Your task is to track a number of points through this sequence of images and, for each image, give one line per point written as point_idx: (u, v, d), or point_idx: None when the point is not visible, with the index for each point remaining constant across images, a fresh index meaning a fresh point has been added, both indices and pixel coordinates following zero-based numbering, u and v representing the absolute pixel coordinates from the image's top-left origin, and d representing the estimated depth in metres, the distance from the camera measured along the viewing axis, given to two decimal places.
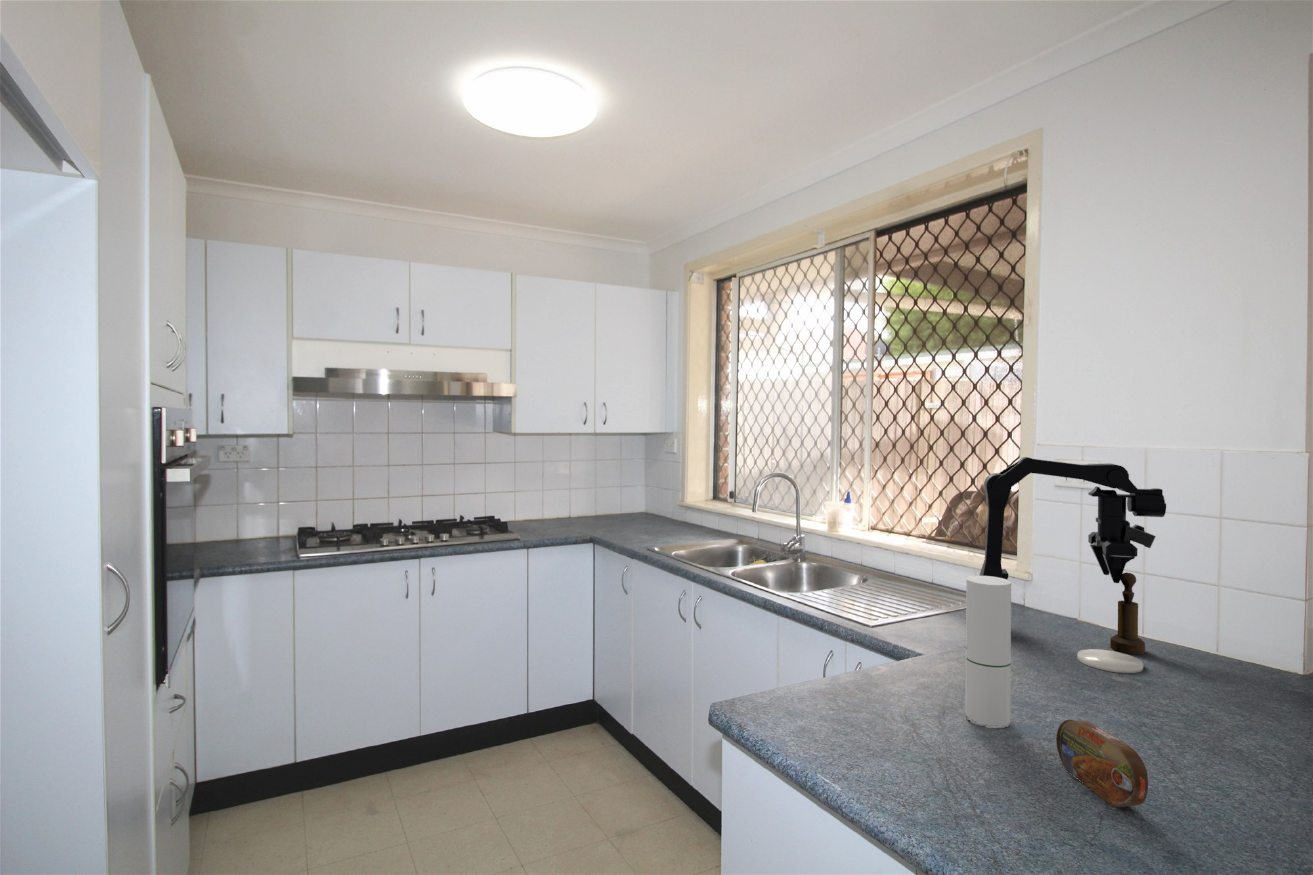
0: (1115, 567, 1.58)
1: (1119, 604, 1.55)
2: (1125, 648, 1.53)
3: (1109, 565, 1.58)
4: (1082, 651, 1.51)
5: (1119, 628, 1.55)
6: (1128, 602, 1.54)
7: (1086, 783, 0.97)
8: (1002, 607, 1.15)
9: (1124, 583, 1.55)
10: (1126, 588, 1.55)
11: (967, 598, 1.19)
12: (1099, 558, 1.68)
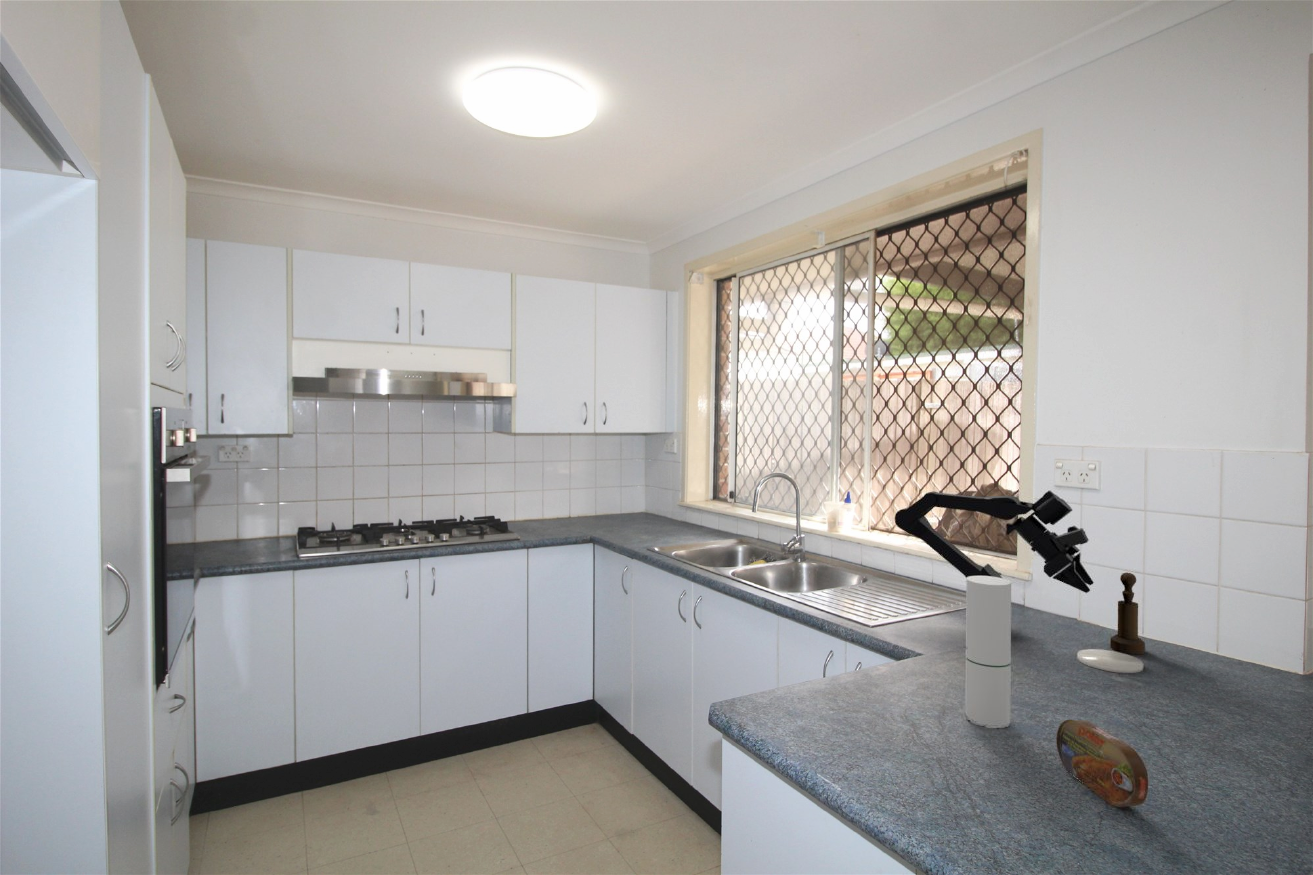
0: (1072, 580, 1.57)
1: (1119, 604, 1.55)
2: (1125, 648, 1.53)
3: (1066, 582, 1.57)
4: (1082, 651, 1.51)
5: (1119, 628, 1.55)
6: (1128, 602, 1.54)
7: (1086, 783, 0.97)
8: (1002, 607, 1.15)
9: (1124, 583, 1.55)
10: (1126, 588, 1.55)
11: (967, 598, 1.19)
12: None
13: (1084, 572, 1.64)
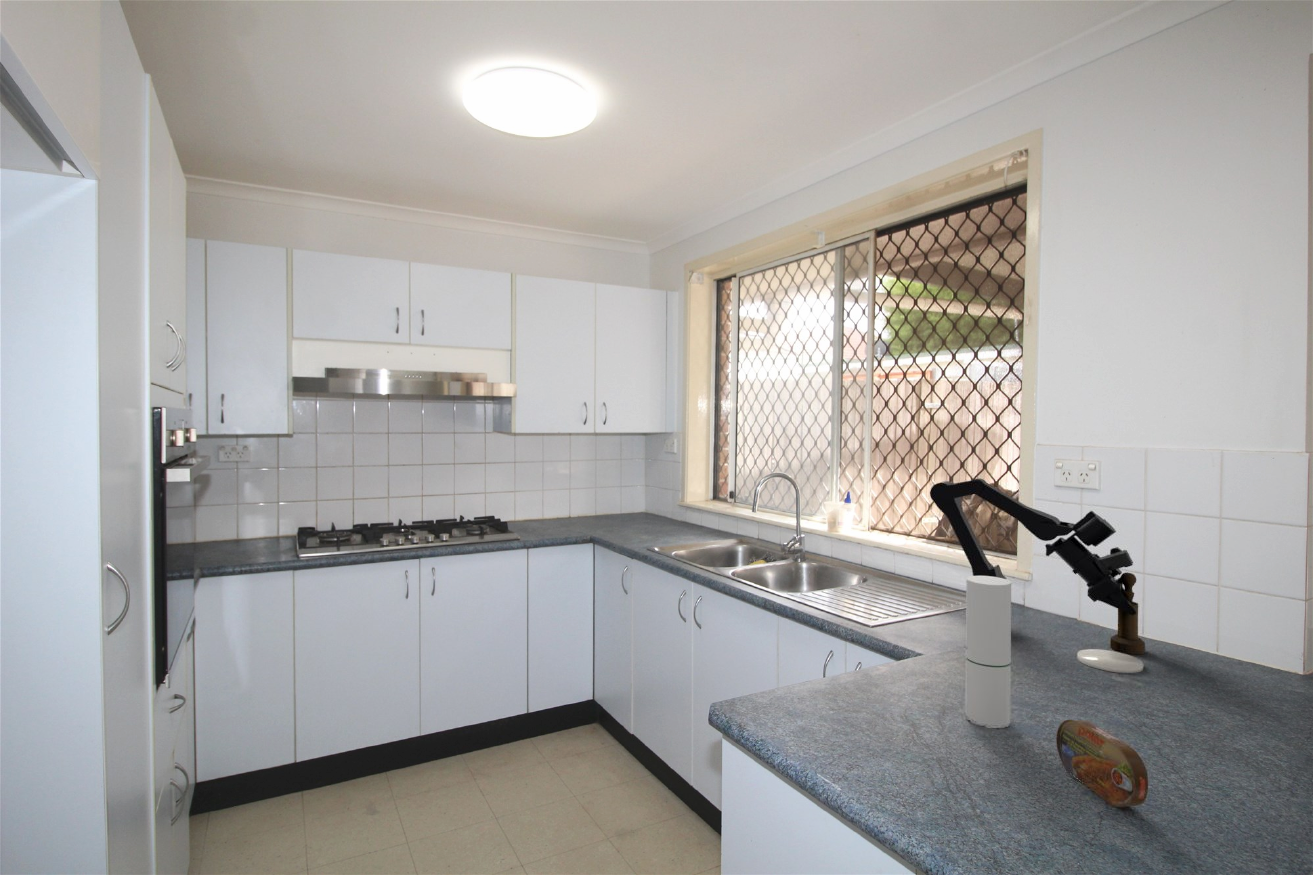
0: (1118, 602, 1.53)
1: None
2: (1125, 648, 1.53)
3: (1111, 604, 1.54)
4: (1082, 651, 1.51)
5: (1119, 628, 1.55)
6: None
7: (1086, 783, 0.97)
8: (1002, 607, 1.15)
9: (1124, 583, 1.54)
10: (1126, 588, 1.55)
11: (967, 598, 1.19)
12: None
13: None
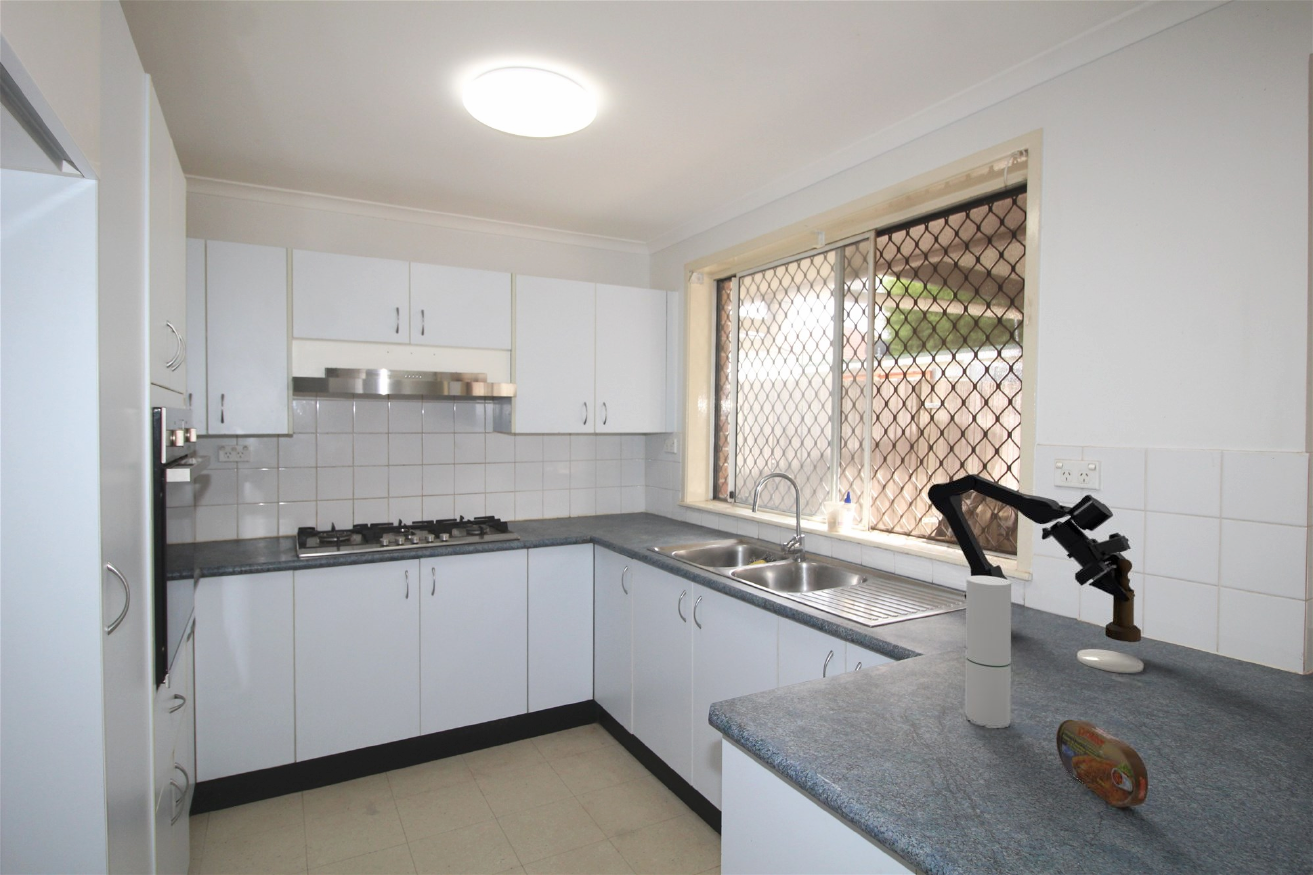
0: (1110, 588, 1.50)
1: None
2: (1117, 636, 1.49)
3: (1103, 589, 1.51)
4: (1082, 651, 1.51)
5: (1113, 615, 1.51)
6: (1123, 589, 1.50)
7: (1086, 783, 0.97)
8: (1002, 607, 1.15)
9: (1119, 569, 1.50)
10: (1121, 574, 1.50)
11: (967, 598, 1.19)
12: None
13: None
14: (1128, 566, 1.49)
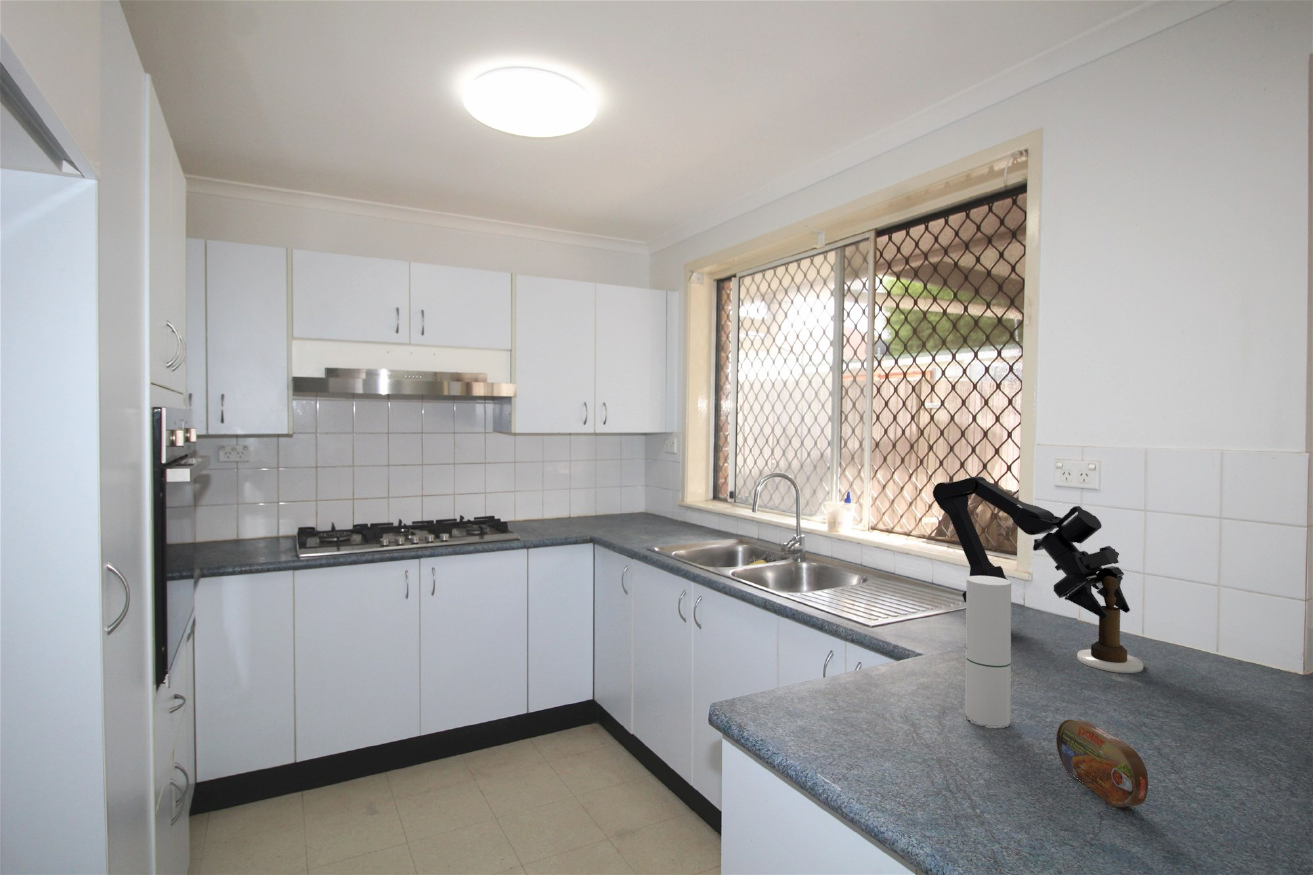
0: (1087, 603, 1.45)
1: None
2: (1099, 655, 1.46)
3: (1080, 605, 1.46)
4: (1082, 651, 1.51)
5: None
6: (1108, 607, 1.46)
7: (1086, 783, 0.97)
8: (1002, 607, 1.15)
9: (1104, 587, 1.47)
10: (1106, 592, 1.47)
11: (967, 598, 1.19)
12: None
13: (1120, 598, 1.49)
14: (1112, 584, 1.45)
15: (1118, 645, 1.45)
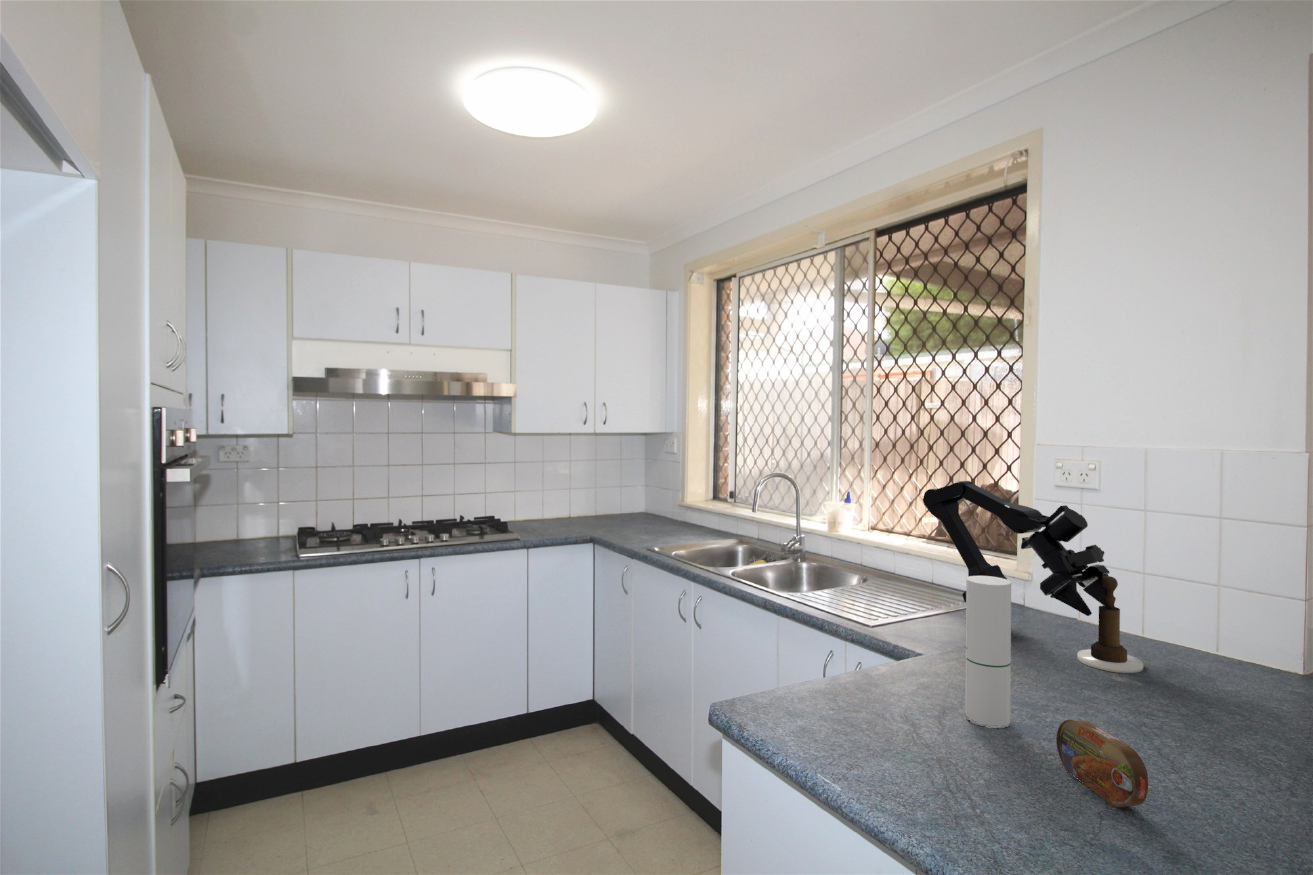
0: (1072, 601, 1.48)
1: None
2: (1099, 655, 1.46)
3: (1066, 602, 1.49)
4: (1082, 651, 1.51)
5: None
6: (1108, 607, 1.46)
7: (1086, 783, 0.97)
8: (1002, 607, 1.15)
9: (1103, 587, 1.47)
10: (1106, 592, 1.47)
11: (967, 598, 1.19)
12: (1096, 597, 1.54)
13: None
14: (1112, 584, 1.45)
15: (1118, 645, 1.45)
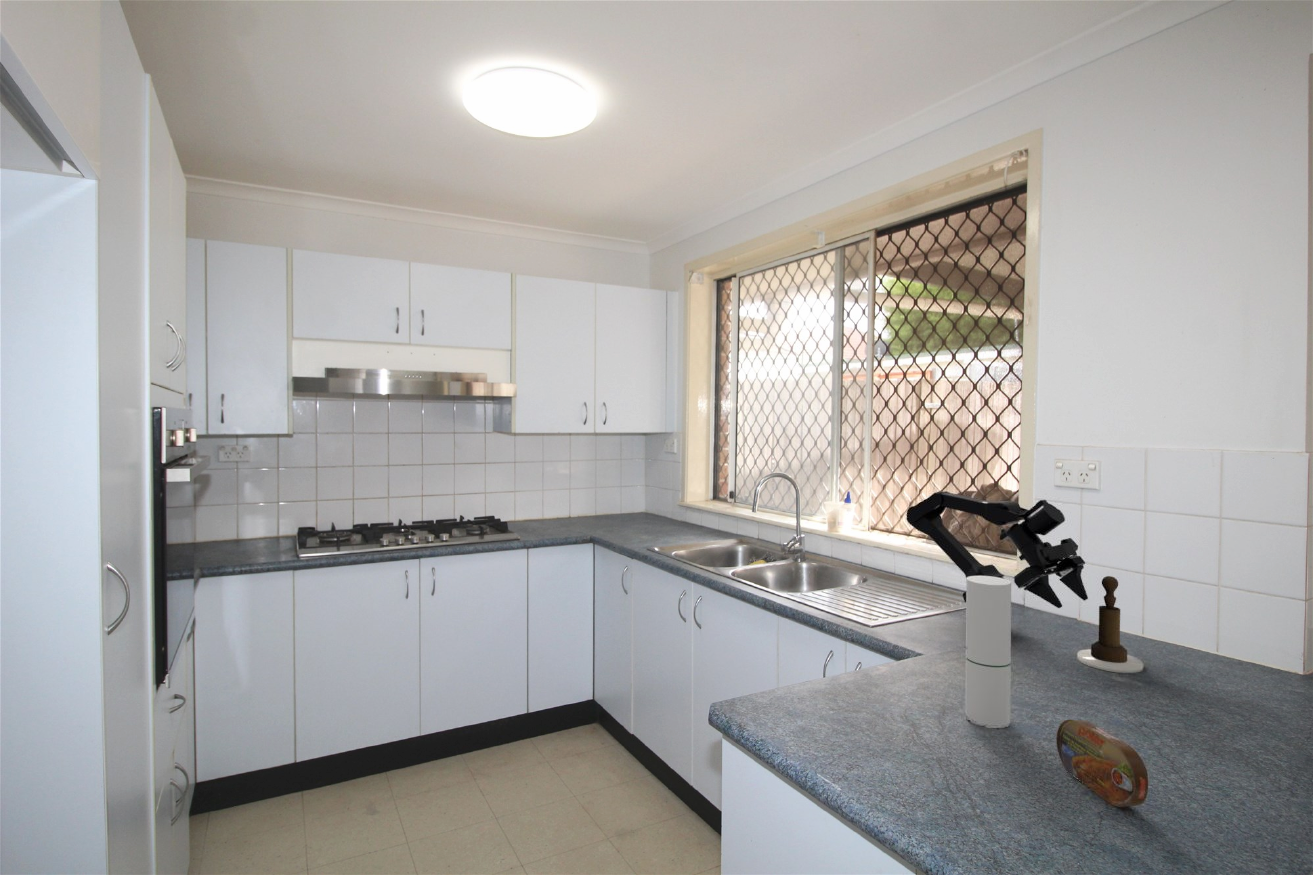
0: (1044, 594, 1.54)
1: (1099, 608, 1.48)
2: (1099, 654, 1.46)
3: (1038, 595, 1.55)
4: (1082, 651, 1.51)
5: None
6: (1108, 607, 1.46)
7: (1086, 783, 0.97)
8: (1002, 607, 1.15)
9: (1104, 587, 1.47)
10: (1106, 592, 1.47)
11: (967, 598, 1.19)
12: (1071, 587, 1.59)
13: (1079, 586, 1.57)
14: (1112, 584, 1.45)
15: (1118, 645, 1.45)
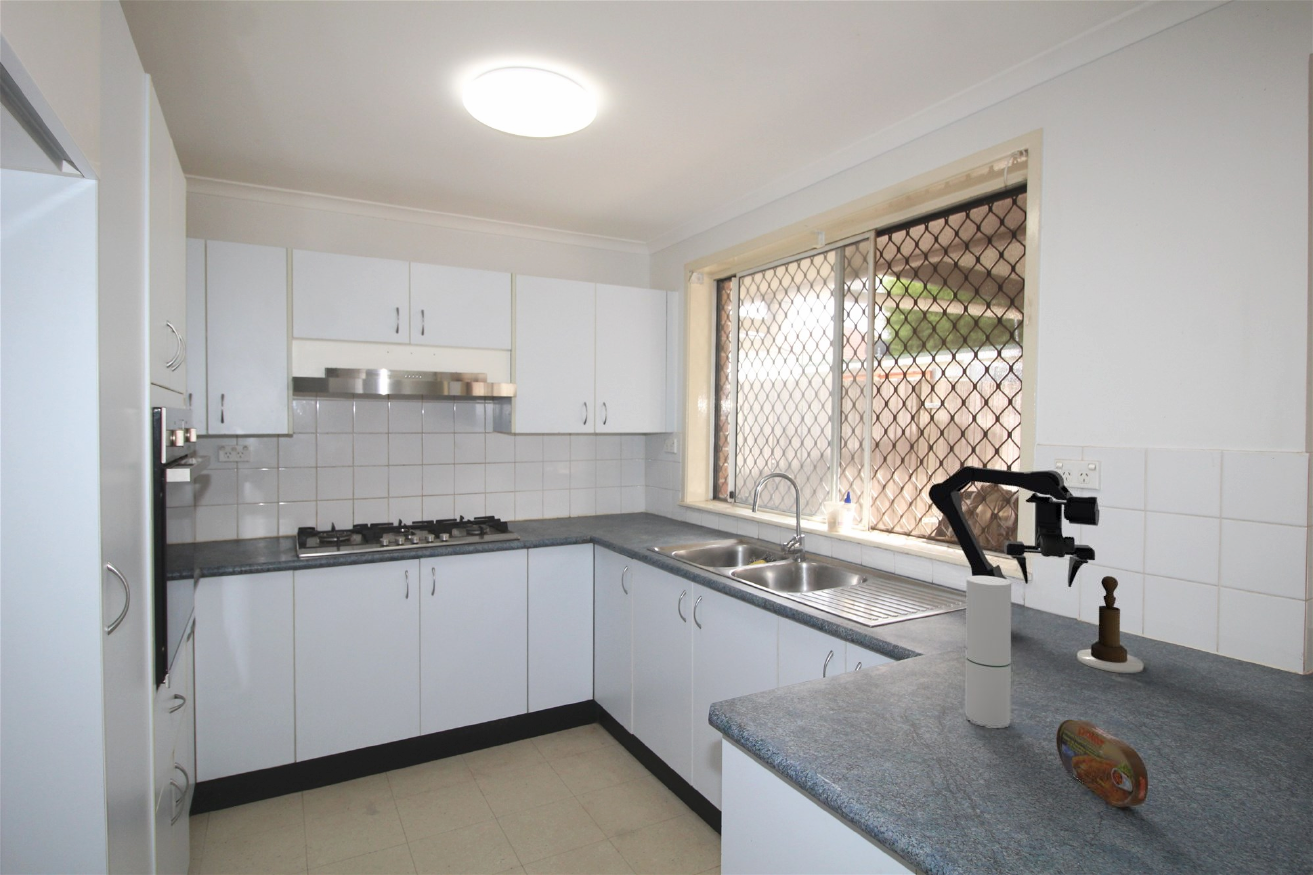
0: (1021, 567, 1.66)
1: (1099, 608, 1.48)
2: (1098, 655, 1.46)
3: None
4: (1082, 651, 1.51)
5: None
6: (1108, 607, 1.47)
7: (1086, 783, 0.97)
8: (1002, 607, 1.15)
9: (1103, 587, 1.47)
10: (1106, 592, 1.47)
11: (967, 598, 1.19)
12: (1069, 569, 1.63)
13: (1070, 575, 1.62)
14: (1112, 584, 1.45)
15: (1118, 645, 1.45)
